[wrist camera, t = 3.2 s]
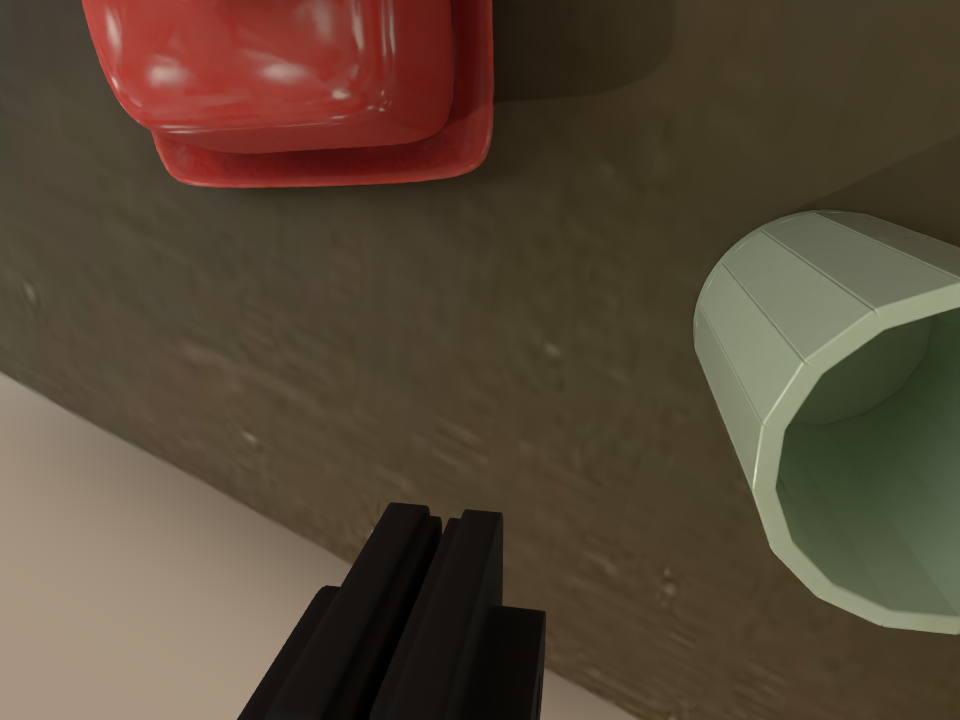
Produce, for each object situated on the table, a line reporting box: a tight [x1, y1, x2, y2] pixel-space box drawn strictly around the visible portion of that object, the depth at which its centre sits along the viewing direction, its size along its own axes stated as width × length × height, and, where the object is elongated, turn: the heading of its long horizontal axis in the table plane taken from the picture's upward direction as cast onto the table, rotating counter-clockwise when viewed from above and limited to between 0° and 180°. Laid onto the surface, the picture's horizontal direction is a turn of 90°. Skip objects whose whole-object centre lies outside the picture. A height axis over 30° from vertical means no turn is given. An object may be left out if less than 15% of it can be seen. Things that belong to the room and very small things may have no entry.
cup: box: [693, 209, 960, 635], centre depth 17 cm, size 7×7×10 cm
